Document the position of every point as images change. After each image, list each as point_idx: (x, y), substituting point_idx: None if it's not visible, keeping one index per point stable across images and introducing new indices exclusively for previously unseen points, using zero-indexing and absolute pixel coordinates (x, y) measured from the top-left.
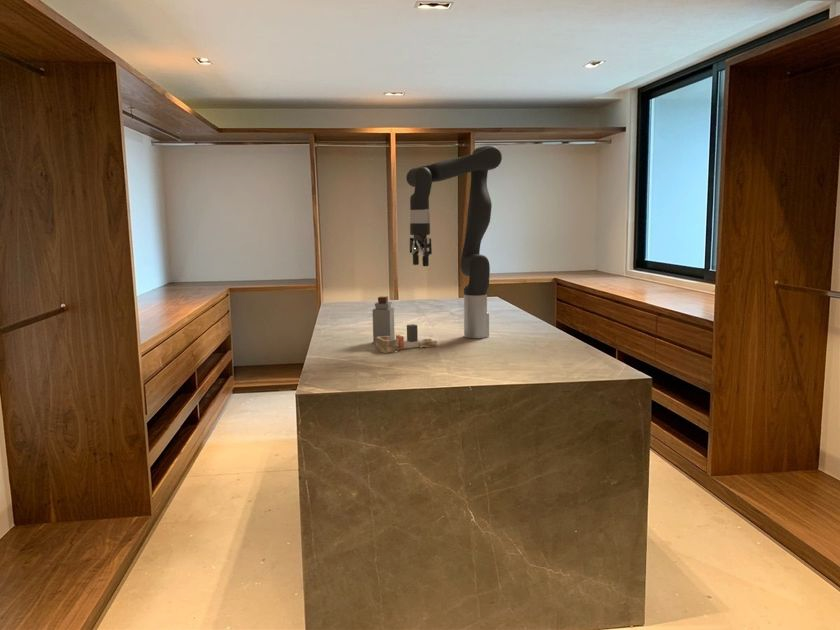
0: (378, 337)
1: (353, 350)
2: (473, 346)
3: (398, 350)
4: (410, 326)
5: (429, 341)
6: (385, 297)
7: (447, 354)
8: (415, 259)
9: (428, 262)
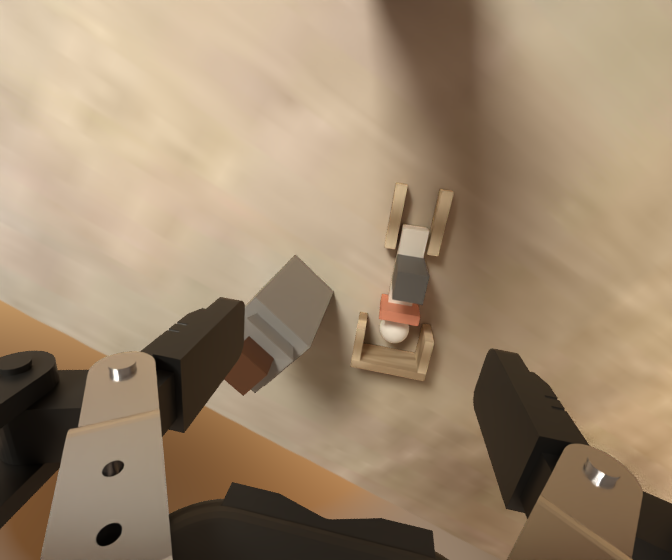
0: (362, 363)
1: (336, 394)
2: (557, 76)
3: (430, 326)
4: (422, 302)
5: (441, 219)
6: (259, 372)
7: (578, 240)
8: (214, 367)
9: (531, 376)
